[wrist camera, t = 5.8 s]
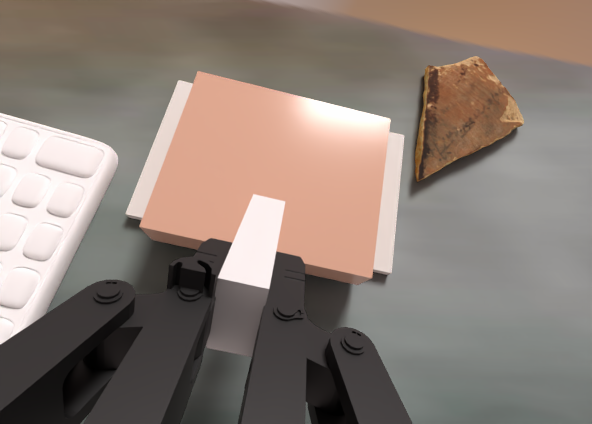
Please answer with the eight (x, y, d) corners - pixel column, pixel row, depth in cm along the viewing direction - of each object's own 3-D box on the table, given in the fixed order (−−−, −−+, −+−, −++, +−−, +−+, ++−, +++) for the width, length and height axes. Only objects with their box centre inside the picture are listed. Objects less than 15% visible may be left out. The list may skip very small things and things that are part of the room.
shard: (409, 189, 24) (421, 178, 23) (352, 104, 26) (359, 88, 24) (517, 133, 27) (534, 120, 26) (459, 61, 29) (472, 44, 27)
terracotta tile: (356, 285, 20) (375, 141, 24) (372, 278, 18) (390, 118, 21) (152, 240, 20) (203, 99, 23) (139, 226, 17) (197, 70, 21)
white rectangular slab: (400, 140, 25) (404, 135, 24) (387, 274, 21) (391, 273, 21) (180, 86, 24) (178, 80, 24) (128, 217, 21) (125, 214, 20)
